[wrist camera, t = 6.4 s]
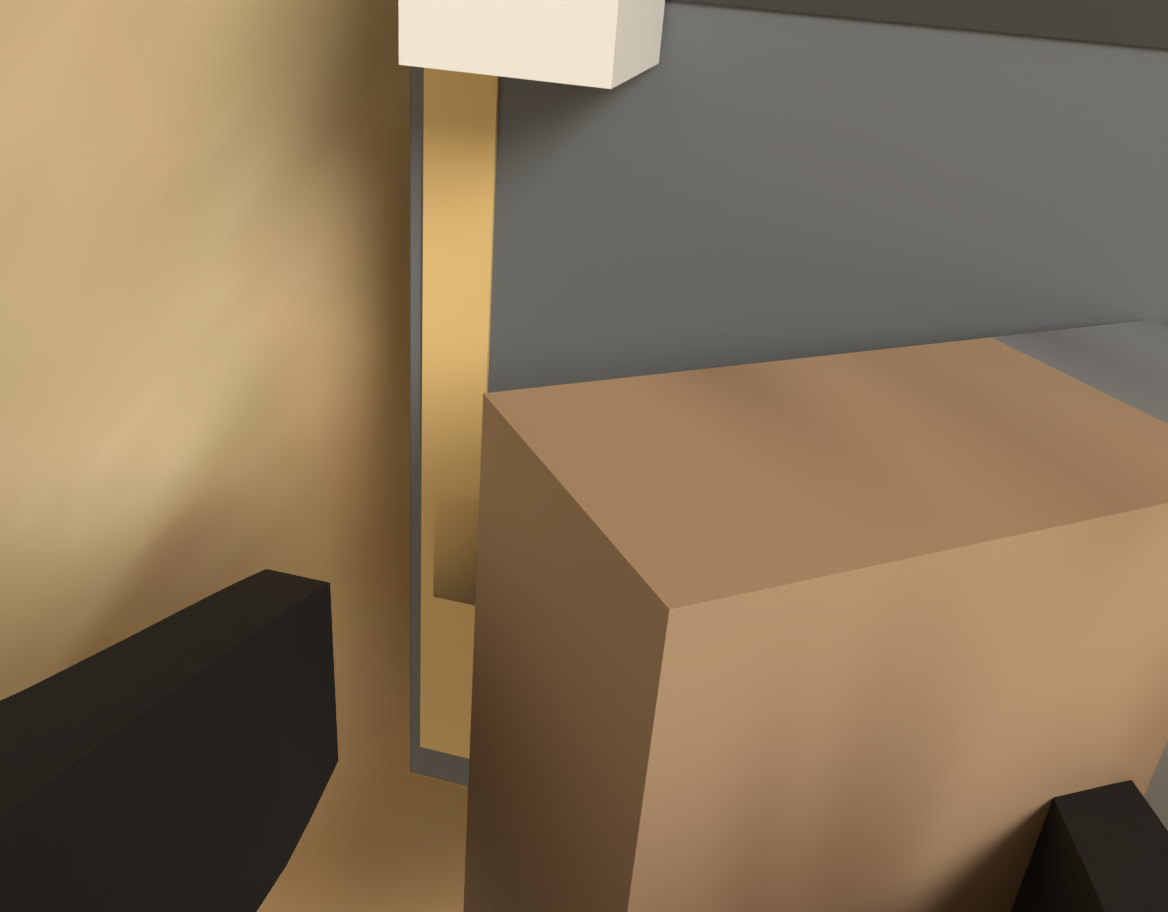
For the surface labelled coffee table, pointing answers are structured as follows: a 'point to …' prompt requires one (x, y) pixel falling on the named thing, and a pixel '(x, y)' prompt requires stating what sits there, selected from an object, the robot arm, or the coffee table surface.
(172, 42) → the coffee table surface
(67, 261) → the coffee table surface
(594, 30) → the tab
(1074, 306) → the switch board
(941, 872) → the bar
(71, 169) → the coffee table surface
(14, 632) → the coffee table surface
